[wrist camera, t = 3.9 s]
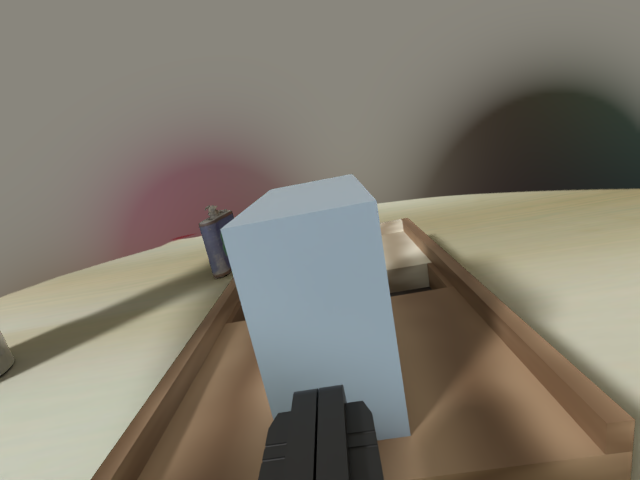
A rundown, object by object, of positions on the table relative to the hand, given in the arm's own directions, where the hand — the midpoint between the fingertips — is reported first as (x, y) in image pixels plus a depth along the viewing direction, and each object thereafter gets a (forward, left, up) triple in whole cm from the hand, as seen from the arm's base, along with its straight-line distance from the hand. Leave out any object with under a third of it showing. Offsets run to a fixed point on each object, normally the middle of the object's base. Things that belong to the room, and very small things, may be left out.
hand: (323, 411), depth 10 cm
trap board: (0, +20, -9) cm, 22 cm away
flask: (-18, +44, -9) cm, 48 cm away
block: (0, +10, -6) cm, 11 cm away
